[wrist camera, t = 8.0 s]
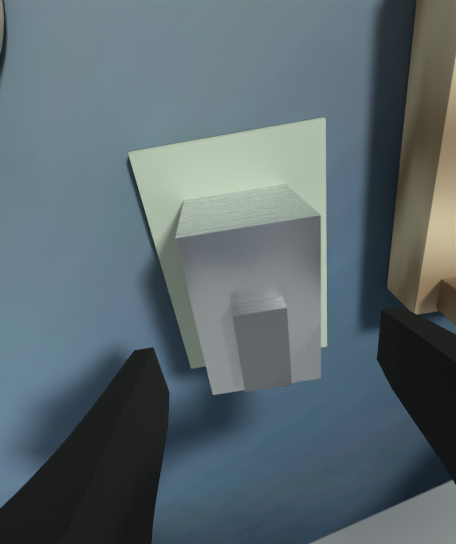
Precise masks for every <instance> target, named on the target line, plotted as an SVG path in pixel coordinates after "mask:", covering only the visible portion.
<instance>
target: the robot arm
mask: <svg viewBox="0 0 456 544" xmlns="http://www.w3.org/2000/svg"><path fill="white" fill-rule="evenodd" d="M377 360H378V362H379V364H380V366H381V368H382V370H383V372H384V374H385V376H386V378H387V380H388V382H389V384H390V386H391V387H392V389H393V391H394V392H395V394H396V395H397V397H398V398H399V400H400V401H401V403H402V404H403V406H404V407H405V409H406V410H407V412H408V413H409V415H410V416H411V418H412V419H413V420H414V422H415V423H416V425H417V426H418V428H419V429H420V431H421V432H422V434H423V435H424V437H425V438H426V439H427V441H428V442H429V444H430V445H431V447H432V448H433V450H434V451H435V453H436V454H437V456H438V457H439V458H440V460H441V461H442V463H443V465H444V466H445V468H446V469H447V471H448V472H449V474H450V476H451V477H452V479H453V481H454V482H455V484H456V335H455V334H454V333H452V332H450V331H448V330H446V329H444V328H442V327H440V326H438V325H436V324H435V323H433V322H431V321H429V320H427V319H425V318H423V317H421V316H419V315H417V314H415V313H413V312H411V311H409V310H407V309H405V308H403V307H397V308H390V309H384V310H382V312H381V322H380V333H379V343H378V353H377ZM168 414H169V390H168V387H167V385H166V382H165V379H164V376H163V373H162V371H161V368H160V365H159V362H158V359H157V356H156V354H155V351H154V348H153V347H152V348H146V349H140V350H134V352H133V353H132V354H131V356H130V357H129V358H128V360H127V361H126V362H125V364H124V365H123V366H122V368H121V369H120V371H119V372H118V373H117V375H116V376H115V377H114V379H113V380H112V382H111V383H110V384H109V386H108V387H107V388H106V390H105V391H104V392H103V394H102V395H101V396H100V398H99V399H98V400H97V402H96V403H95V404H94V406H93V407H92V408H91V410H90V411H89V412H88V413H87V415H86V416H85V417H84V418H83V420H82V421H81V422H80V423H79V424H78V426H77V427H76V428H75V429H74V431H73V432H72V433H71V434H70V435H69V437H68V438H67V439H66V440H65V442H64V443H63V444H62V445H61V446H60V447H59V448H58V450H57V451H56V452H55V453H54V454H53V455H52V456H51V457H50V458H49V460H48V461H47V462H46V463H45V464H44V465H43V466H42V467H41V468H40V469H39V470H38V471H37V472H36V473H35V474H34V476H33V477H32V478H31V479H30V480H29V481H28V482H27V483H26V484H25V485H24V486H23V487H22V488H21V489H20V490H19V491H18V492H17V493H16V494H15V495H14V496H13V497H12V498H11V499H10V500H9V501H8V502H7V503H6V504H5V505H4V506H2V507H1V508H0V544H151V541H152V528H153V518H154V510H155V503H156V497H157V491H158V484H159V478H160V472H161V466H162V460H163V453H164V447H165V441H166V434H167V428H168Z"/></svg>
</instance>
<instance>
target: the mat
mask: <svg viewBox="0 0 456 544" xmlns="http://www.w3.org/2000/svg"><path fill="white" fill-rule="evenodd" d="M128 154H129V158H130V161H131V165H132V168H133V172H134V175H135V178H136V182H137V185H138V189H139V192H140V195H141V199H142V202H143V206H144V209H145V213H146V216H147V219H148V223H149V226H150V230H151V233H152V237H153V240H154V243H155V247H156V250H157V254H158V257H159V260H160V264H161V267H162V271H163V274H164V278H165V281H166V284H167V288H168V291H169V295H170V298H171V301H172V305H173V308H174V312H175V315H176V319H177V322H178V325H179V329H180V332H181V336H182V339H183V343H184V346H185V349H186V353H187V356H188V360H189V363H190V366H191V369H193V368H199V367H205V366H206V365H205V360H204V356H203V352H202V348H201V344H200V340H199V336H198V331H197V327H196V323H195V319H194V315H193V311H192V307H191V302H190V298H189V294H188V290H187V286H186V282H185V277H184V273H183V269H182V265H181V261H180V257H179V253H178V248H177V244H176V240H175V237H176V232H177V228H178V224H179V219H180V215H181V211H182V206H183V202H184V200H188V199H194V198H201V197H207V196H213V195H219V194H226V193H232V192H238V191H244V190H250V189H257V188H263V187H269V186H275V185H282V184H287V185H288V186H289V187H291V188H292V189H293V190H294V191H295V192H296V193H297V194H298V195H299V196H300V197H302V198H303V199H304V200H305V201H306V202H307V203H308V204H309V205H310V206H311V207H312V208H314V209H315V210H316V211H317V212H318V213H319V214H320V215H321V347H326V346H327V270H326V118H317V119H311V120H305V121H300V122H294V123H288V124H283V125H277V126H271V127H266V128H260V129H254V130H249V131H243V132H238V133H232V134H226V135H221V136H215V137H209V138H204V139H198V140H192V141H187V142H181V143H175V144H170V145H164V146H158V147H153V148H147V149H141V150H136V151H131V152H129V153H128Z"/></svg>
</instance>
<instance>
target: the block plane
mask: <svg viewBox="0 0 456 544" xmlns="http://www.w3.org/2000/svg"><path fill="white" fill-rule="evenodd" d="M387 289H388V290H389V291H390V292H391V293H392V294H393V295H394V296H395V297H396V298H397V299H398V300H399V301H400V302H401V303H403V304H404V305H405V306H406V307H407V308H408V309H409V310H410V311H411V312H413V313H415V314H417V315H418V314H424V313H430V312H436V311H440V312H441V313H442V314H443V315H444V316H446V317H447V318H448V319H449V320H450V321H451V322H453V323H454V324H455V325H456V0H417V1H416V10H415V20H414V30H413V40H412V49H411V59H410V69H409V79H408V88H407V98H406V108H405V117H404V127H403V137H402V147H401V156H400V166H399V176H398V185H397V195H396V205H395V215H394V224H393V234H392V244H391V253H390V263H389V273H388V283H387Z"/></svg>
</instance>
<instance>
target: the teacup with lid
mask: <svg viewBox="0 0 456 544" xmlns="http://www.w3.org/2000/svg"><path fill="white" fill-rule="evenodd" d="M3 34H4V11H3V1H2V0H0V53H1V49H2V42H3Z"/></svg>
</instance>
